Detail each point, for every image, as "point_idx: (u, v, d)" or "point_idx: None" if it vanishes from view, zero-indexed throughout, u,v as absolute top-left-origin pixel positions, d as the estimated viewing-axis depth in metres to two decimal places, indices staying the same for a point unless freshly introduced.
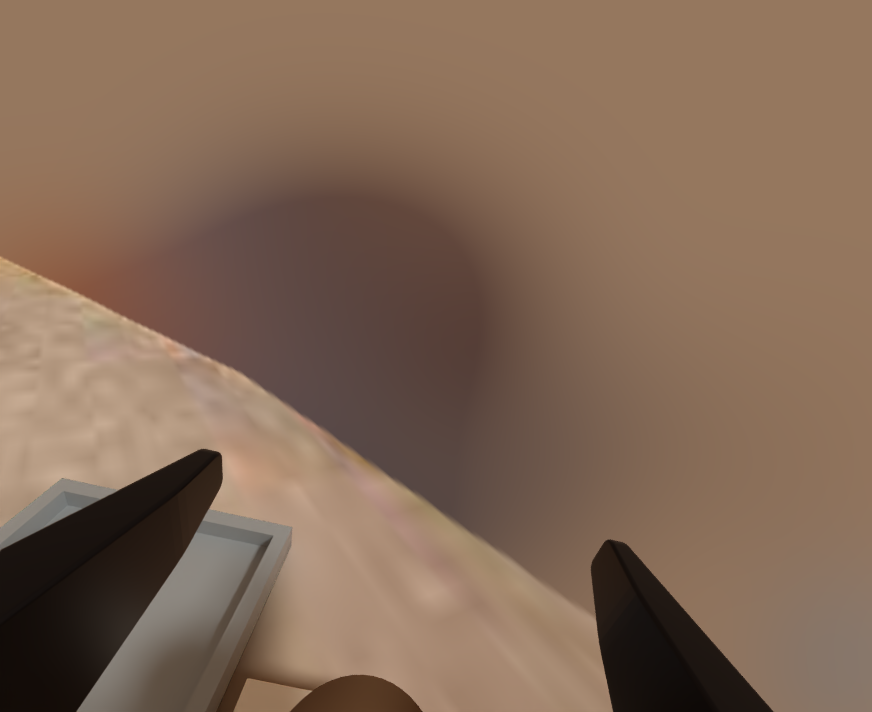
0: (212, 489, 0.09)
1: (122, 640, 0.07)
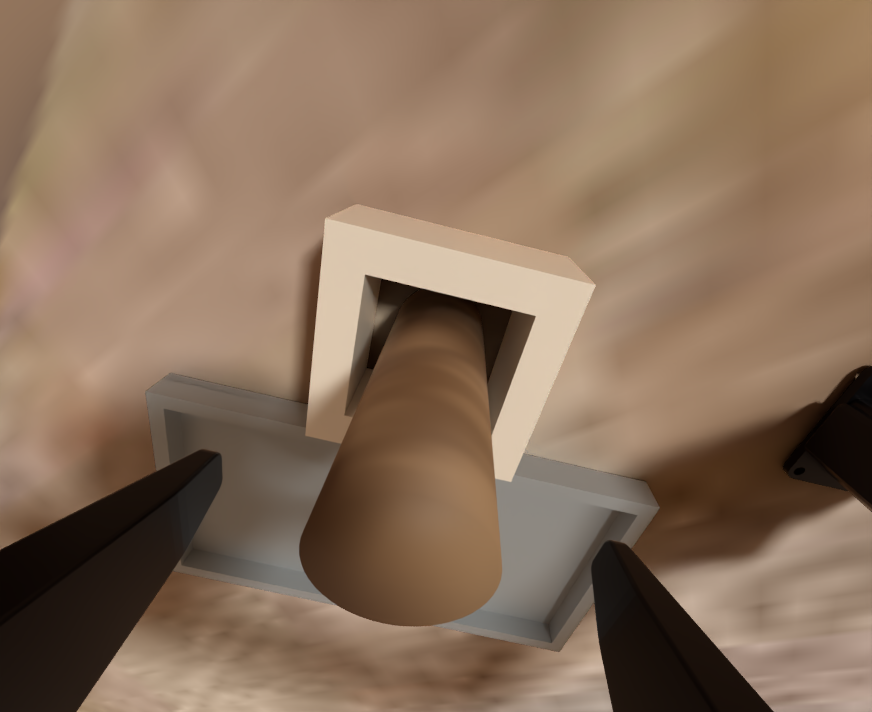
0: (212, 489, 0.09)
1: (122, 640, 0.07)
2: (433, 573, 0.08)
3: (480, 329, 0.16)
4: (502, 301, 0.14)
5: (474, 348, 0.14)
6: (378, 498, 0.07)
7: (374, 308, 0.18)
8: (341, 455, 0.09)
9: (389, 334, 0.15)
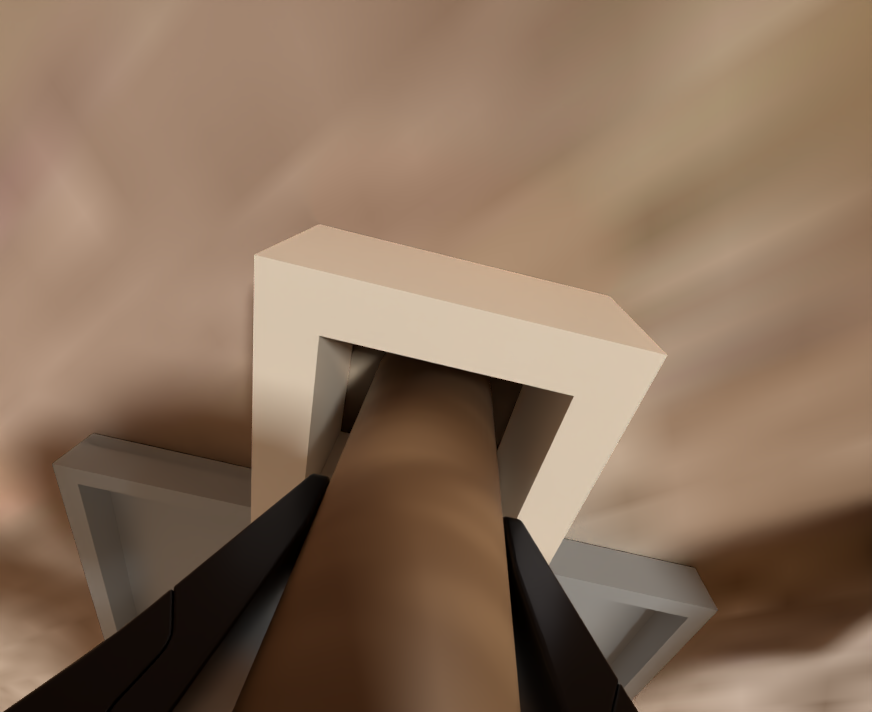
0: None
1: None
2: None
3: (488, 397, 0.12)
4: (524, 375, 0.09)
5: (482, 445, 0.09)
6: None
7: (346, 361, 0.13)
8: None
9: (360, 410, 0.11)
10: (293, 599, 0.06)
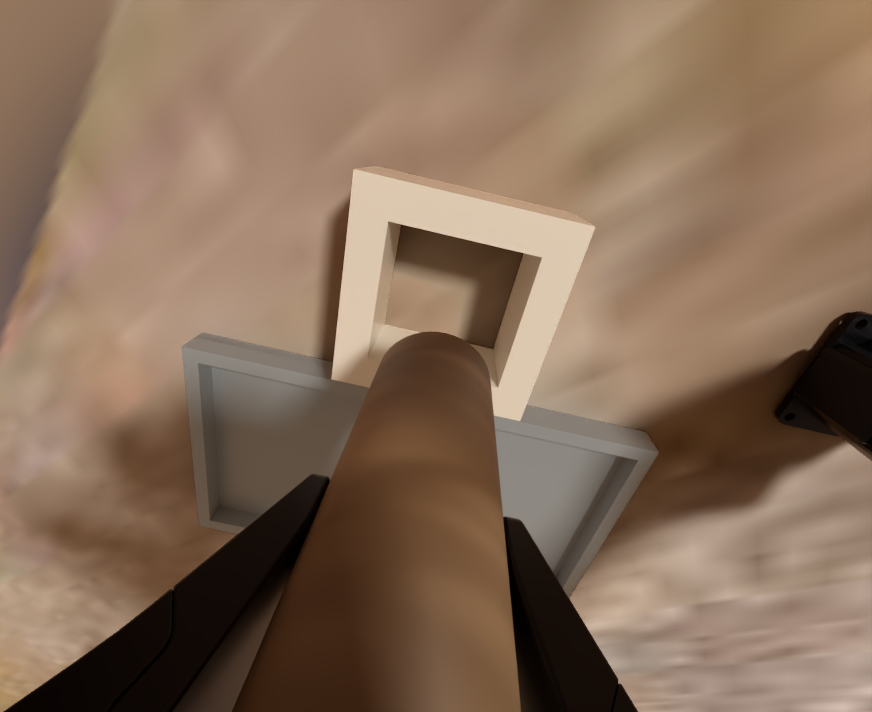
0: None
1: None
2: None
3: (489, 396, 0.12)
4: (511, 244, 0.15)
5: (482, 444, 0.09)
6: None
7: (392, 264, 0.19)
8: None
9: (361, 409, 0.11)
10: (293, 598, 0.06)
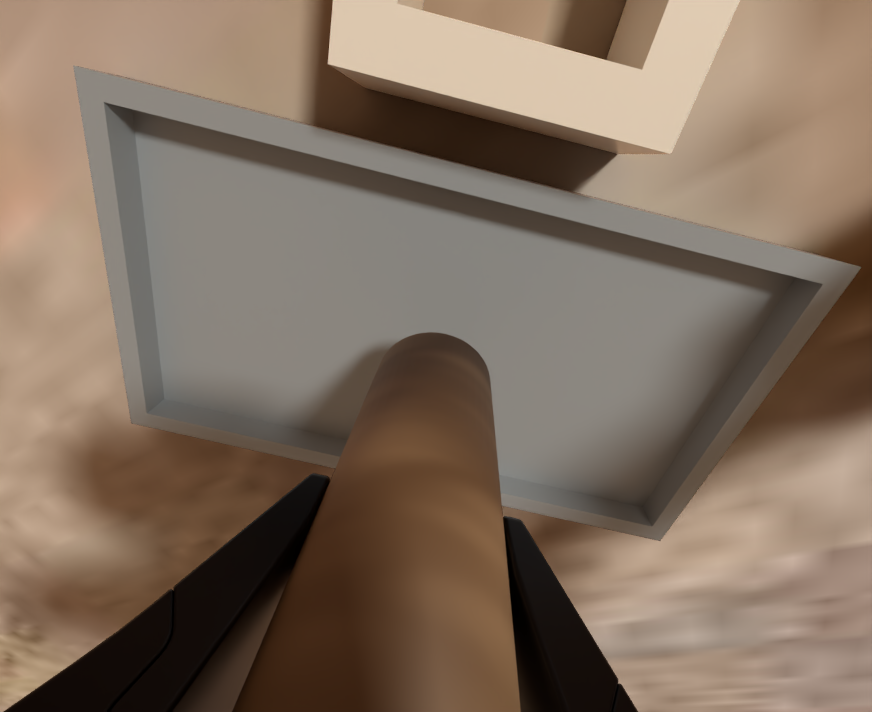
0: None
1: None
2: None
3: (489, 397, 0.12)
4: None
5: (482, 445, 0.09)
6: None
7: None
8: None
9: (361, 410, 0.11)
10: (293, 600, 0.06)
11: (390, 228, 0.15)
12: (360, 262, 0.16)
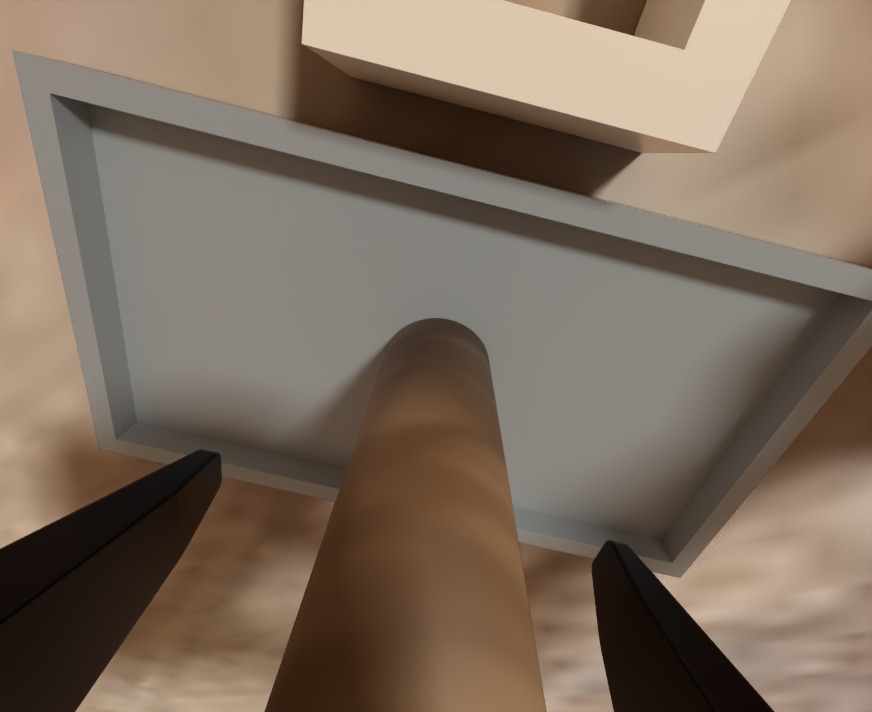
0: (211, 489, 0.09)
1: (121, 640, 0.07)
2: None
3: (489, 375, 0.13)
4: None
5: (487, 412, 0.10)
6: None
7: None
8: (297, 652, 0.05)
9: (375, 387, 0.12)
10: (339, 532, 0.07)
11: (383, 236, 0.13)
12: (349, 275, 0.14)
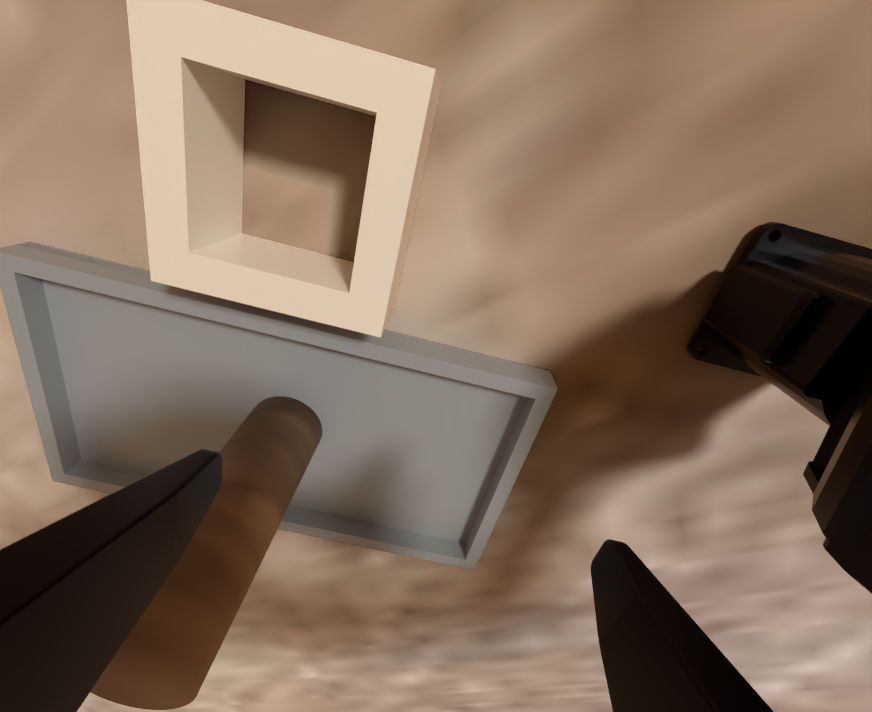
0: (212, 489, 0.09)
1: (122, 640, 0.07)
2: (152, 680, 0.12)
3: (304, 438, 0.20)
4: (337, 93, 0.12)
5: (274, 470, 0.17)
6: None
7: (236, 150, 0.16)
8: None
9: None
10: None
11: (238, 348, 0.20)
12: (220, 370, 0.21)
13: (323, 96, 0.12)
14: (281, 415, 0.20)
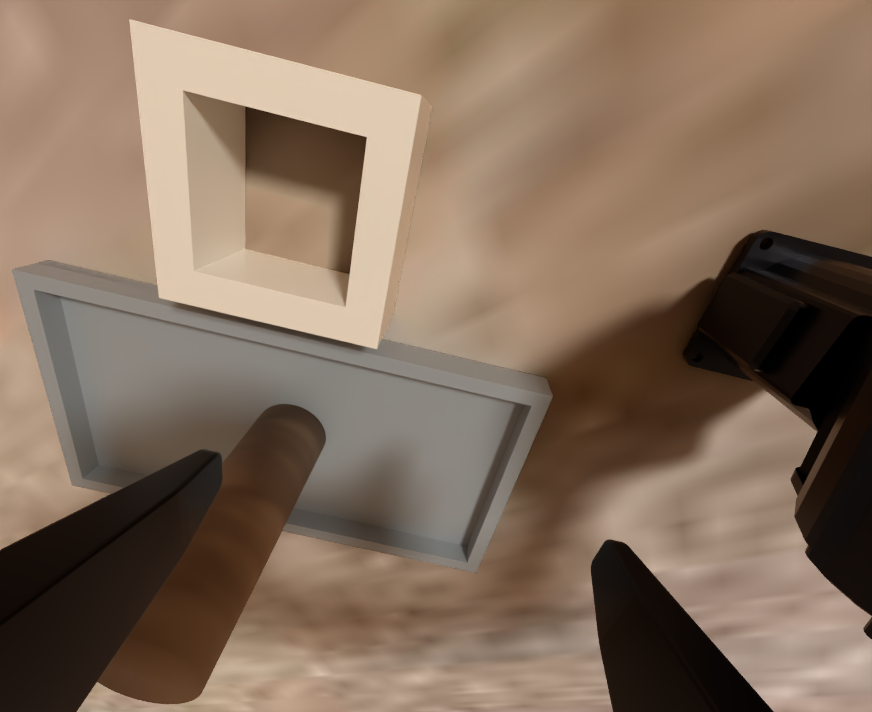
0: (212, 489, 0.09)
1: (122, 640, 0.07)
2: (161, 676, 0.12)
3: (307, 445, 0.21)
4: (329, 119, 0.13)
5: (278, 476, 0.18)
6: None
7: (238, 171, 0.17)
8: None
9: None
10: None
11: (244, 358, 0.21)
12: (227, 379, 0.22)
13: (316, 123, 0.13)
14: (285, 422, 0.21)
